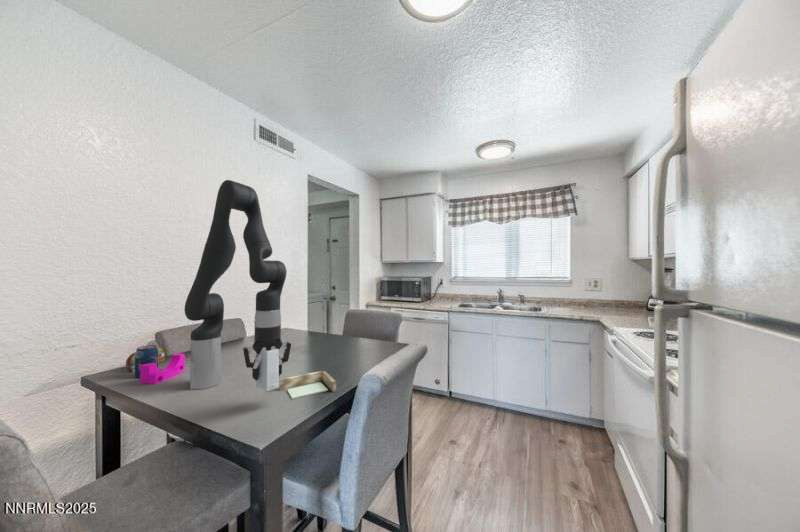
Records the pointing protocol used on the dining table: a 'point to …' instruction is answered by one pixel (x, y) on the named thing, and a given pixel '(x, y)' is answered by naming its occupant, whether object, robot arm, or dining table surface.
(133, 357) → the tin
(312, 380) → the wooden angle bracket
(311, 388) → the mat
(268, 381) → the skincare box
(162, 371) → the magenta notched block
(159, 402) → the dining table surface
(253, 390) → the dining table surface
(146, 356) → the soda can
